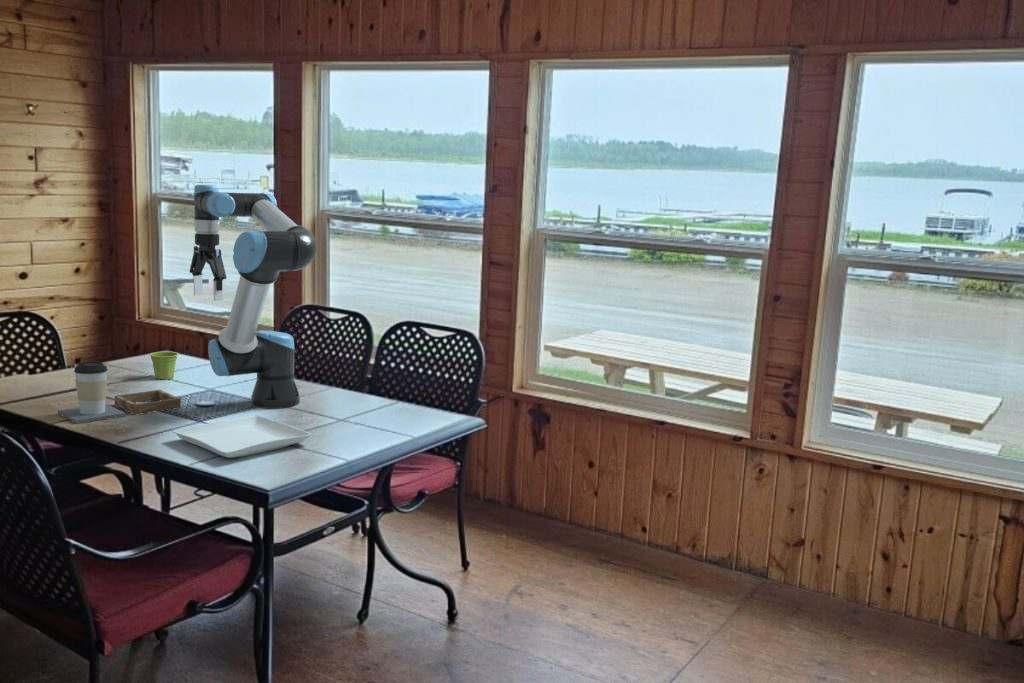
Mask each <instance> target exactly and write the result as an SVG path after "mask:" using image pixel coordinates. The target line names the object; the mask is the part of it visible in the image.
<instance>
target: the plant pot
mask: <svg viewBox="0 0 1024 683" xmlns="http://www.w3.org/2000/svg"><path fill="white" fill-rule="evenodd" d="M149 356H150V360H151V362H152V366H153V367H152V368H153V371H154V378H155V379H157V378H158V380H160V379H163V380H165V379H167V380H169V379H171V378H172V379H174V378H175V377H174V376H175V370H176V363H177V358H178V356H179V353H178V352H176V351H175V352H174V351H156V352H151V353H149Z"/></svg>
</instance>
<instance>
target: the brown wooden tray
mask: <svg viewBox="0 0 1024 683" xmlns="http://www.w3.org/2000/svg"><path fill="white" fill-rule="evenodd" d="M156 399H158V400H156ZM149 400H155V401H149ZM159 400H161V401H159ZM143 401H148V402H143ZM136 402H141V403H136ZM115 405H117V406H119V407H121V408H123V409H125V410H127V411H129V412H131V413H133V414H139V415H141V414H140V413H145V414H149V413H148V412H152V413H154V412H153V411H158V412H162V411H161V410H165V411H168V410H167V409H171V410H175V409H174V408H178V409H181V408H182V407H181V406H182V405H181V398H180V397H178V396H175V395H173V394H170V393H169V392H166V391H164V390H162V389H155V390H148V391H140V392H135V393H134V392H133V393H127V394H126V393H125V394H118V395H114V406H115ZM117 406H116V407H117ZM119 407H118V408H119ZM121 408H120V409H121ZM123 409H122V410H123ZM125 410H124V411H125ZM127 411H126V412H127ZM129 412H128V413H129ZM131 413H130V414H131ZM133 414H132V415H133Z"/></svg>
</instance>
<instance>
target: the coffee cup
mask: <svg viewBox="0 0 1024 683" xmlns="http://www.w3.org/2000/svg"><path fill="white" fill-rule="evenodd" d="M108 371H109V369H108V367H107V365H105V364H104V363H103V361H97V360H95V361H93V360H91V361H83V362H79V363H78V364H77V366H75V367H74V371H73V372H74V376H75V387H76V388H75V389H76V396H77V400H78V406H79V408H80V413H81V414H86V415H93V414H100V413H103V412H105V404H106V401H107V400H106V398H107V388H108V377H107V374H108Z"/></svg>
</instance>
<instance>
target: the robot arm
mask: <svg viewBox="0 0 1024 683" xmlns="http://www.w3.org/2000/svg"><path fill="white" fill-rule="evenodd" d="M193 188H194V190H193V191H194V192H193V200H194V201H193V204H194V205H193V206H194V210H193V211H194V232H195V234H194V247H193V254H192V258H191V263H190V268H189V273H190V274H192V277H193V296H203V270H204V268H205V266H206V263H207V265H209V267H210V270H211V273H212V275H213V286H212V287H213V301H214V302H215V301H217V302H218V301H220V302H221V301H223V300H224V299H223V296H224V295H223V281H224V280H226V279H227V275H226V270H225V265H224V262H223V257H222V250H221V248H218V249H216V246H219V245H220V234H219V232H220V218H227V217H233V218H234V217H236V218H237V217H238V218H239V217H241V218H242V217H244V218H246V217H248V218H252V219H254V220H255V221H256V222H257V223H258V224H259V225H260V226H261V227H262V228H263V229H264V230H265V231H264V230H259V229H255V230H247V231H243V232H241V233H240V234H239V235H238V237H237V238H236V240H235V242H234V246H233V250H232V251H233V255H232V261H233V264H234V268H235V269H236V271H237V273H238V274H239V276H240V277H239V279H238V280H239V281H238V285H237V288H236V291H235V295H234V298H233V299H234V300H233V303H232V305H231V310H230V313H229V317H228V321H227V323H226V327H224V328H223V329H221V331H220V332H219V334H218V337H217V338H213V339H211V340H209V341H208V347H207V351H208V360H209V363H210V366H211V370H212V371H213V373H214V374H215V375H216V376H217V377H233V376H242V375H249V374H250V375H252V374H256V381H255V384H254V387H253V389H252V392H251V393H252V394H251V397H250V398H251V399H250V402H251V405H253V406H254V407H257V408H258V407H259V408H265V409H282V408H283V409H285V408H290V407H295V406H297V405H299V404H300V398H301V397H300V393H299V390H298V387H297V384H296V380H295V349H296V348H295V341H294V340H295V339H294V337H293V336H292V335H291V334H289V333H286V332H283V331H282V332H281V331H276V330H275V331H274V330H264V329H263V330H262V329H261V330H257V329H258V326H259V322H260V319H261V315H262V312H263V309H264V305H265V303H266V298H267V296H268V292H269V289H270V286H271V285H272V284H274V283H275V282H277V280H278V279H279V274H280V272H296V271H301V270H303V269H304V268H306V267H307V266H309V265H310V264H311V263H312V262H313V260H314V259H315V257H316V254H317V250H318V244H317V240H316V238H315V236H314V234H313V233H312V232H311V231H309V229H307V228H306V227H304V226H303V225H298V224H297V223H295V221H293V220H292V219H291V218H290V217H289V216H287V214H285V213H284V212H283V211H282V210H280V209H279V208H278V203H277V200H276V197H275V196H274V195H273V194H271V193H265V192H256V193H255V192H227V191H226V192H224V191H222V192H221V191H220V190H219V187H218V185H214V184H196V185H194V187H193Z"/></svg>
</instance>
